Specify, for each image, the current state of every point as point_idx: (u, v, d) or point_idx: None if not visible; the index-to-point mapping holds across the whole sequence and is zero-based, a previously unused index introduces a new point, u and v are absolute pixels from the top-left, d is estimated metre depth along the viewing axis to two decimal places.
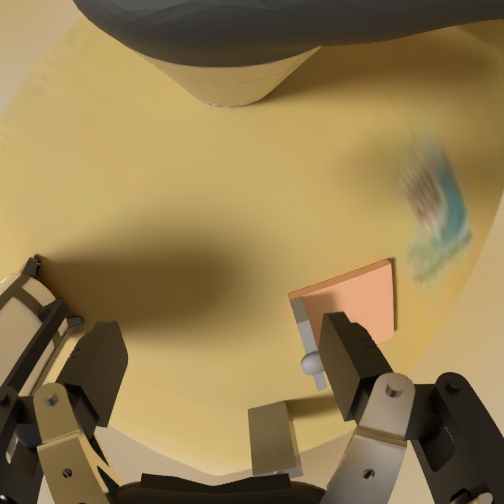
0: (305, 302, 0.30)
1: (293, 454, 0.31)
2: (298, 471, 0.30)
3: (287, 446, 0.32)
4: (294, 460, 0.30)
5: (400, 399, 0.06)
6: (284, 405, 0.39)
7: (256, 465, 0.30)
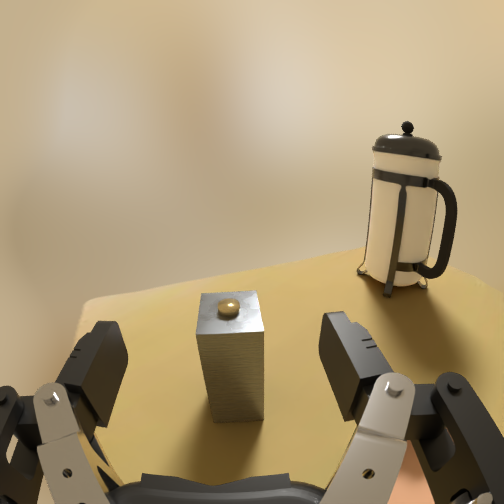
0: None
1: None
2: (232, 331, 0.20)
3: None
4: (263, 341, 0.21)
5: (400, 399, 0.06)
6: None
7: None
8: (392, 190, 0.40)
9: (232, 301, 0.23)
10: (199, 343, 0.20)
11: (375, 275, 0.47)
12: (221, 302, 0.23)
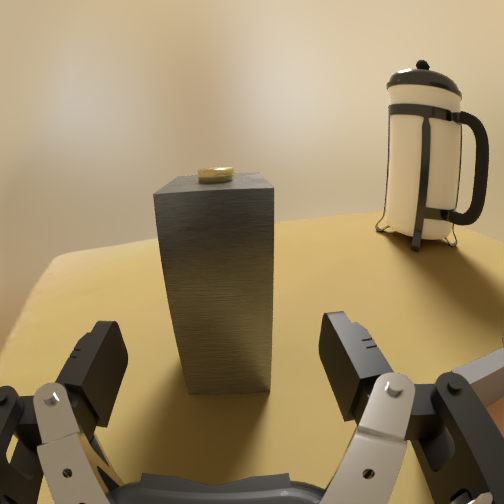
0: None
1: (272, 235, 0.12)
2: (217, 189, 0.12)
3: None
4: (273, 213, 0.12)
5: (400, 399, 0.06)
6: None
7: None
8: (414, 123, 0.31)
9: (222, 167, 0.14)
10: (158, 214, 0.12)
11: (399, 226, 0.38)
12: (204, 168, 0.14)
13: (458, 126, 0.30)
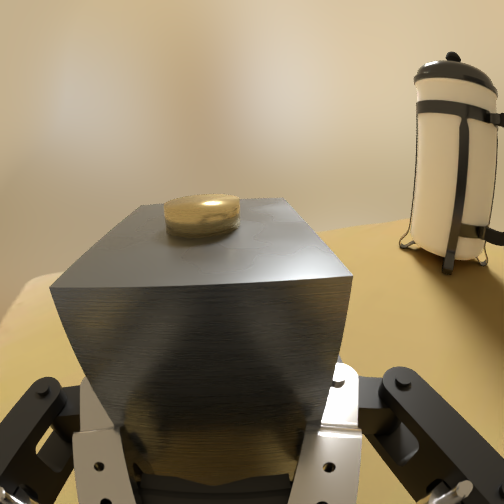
0: None
1: None
2: (200, 279, 0.04)
3: None
4: (339, 328, 0.05)
5: (340, 389, 0.06)
6: None
7: None
8: (450, 124, 0.24)
9: (216, 196, 0.07)
10: (71, 330, 0.04)
11: (429, 245, 0.31)
12: (179, 199, 0.07)
13: (495, 129, 0.22)
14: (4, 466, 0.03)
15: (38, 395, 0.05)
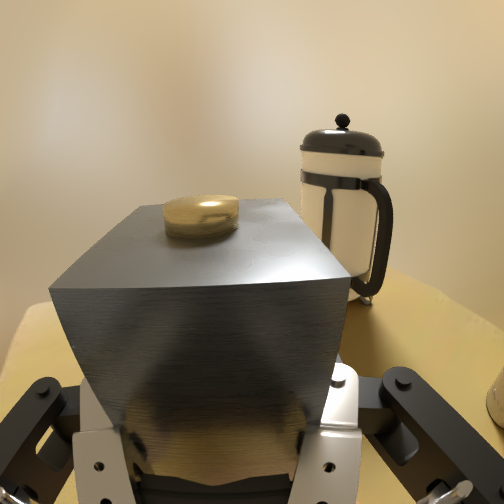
0: None
1: None
2: (198, 280, 0.04)
3: None
4: (338, 329, 0.05)
5: (340, 389, 0.06)
6: None
7: None
8: (317, 194, 0.38)
9: (215, 197, 0.07)
10: (70, 331, 0.04)
11: None
12: (178, 200, 0.07)
13: None
14: (4, 466, 0.03)
15: (38, 395, 0.05)
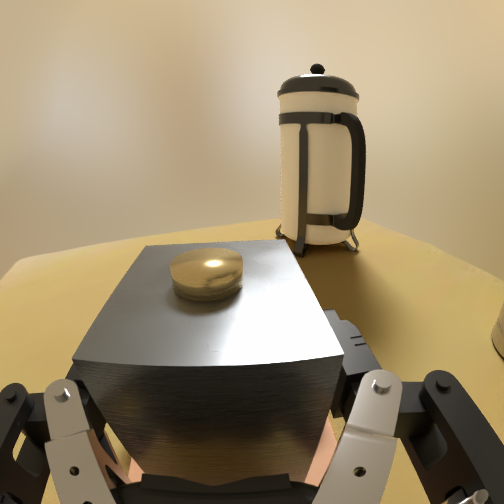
0: None
1: (324, 416, 0.05)
2: (209, 358, 0.05)
3: None
4: None
5: (386, 396, 0.06)
6: None
7: None
8: (292, 131, 0.37)
9: (220, 253, 0.07)
10: (94, 391, 0.05)
11: (286, 232, 0.44)
12: (184, 256, 0.07)
13: (347, 127, 0.36)
14: None
15: (7, 401, 0.05)
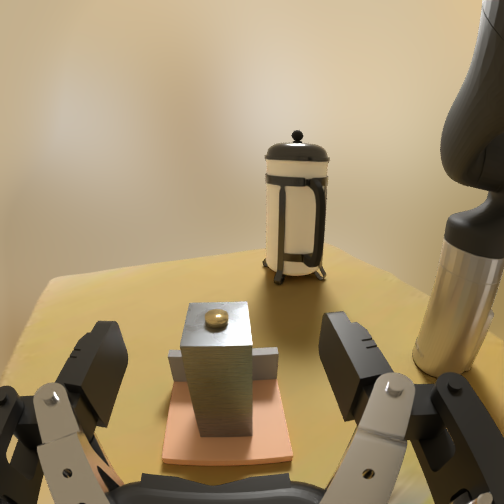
0: (269, 381, 0.30)
1: (251, 365, 0.20)
2: (218, 344, 0.19)
3: None
4: (251, 355, 0.19)
5: (400, 399, 0.06)
6: None
7: None
8: (274, 191, 0.52)
9: (221, 312, 0.22)
10: (183, 355, 0.19)
11: (269, 265, 0.59)
12: (209, 313, 0.22)
13: None
14: None
15: None
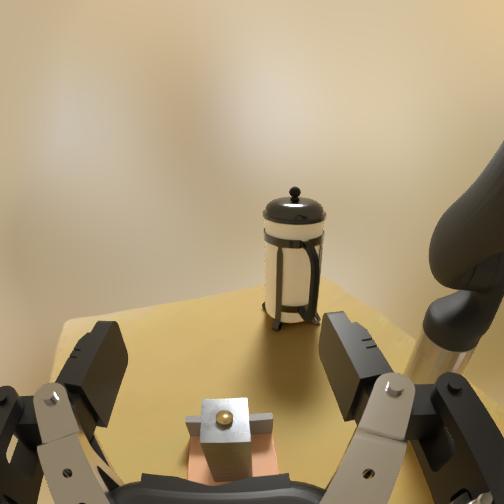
0: (266, 435, 0.35)
1: None
2: (227, 441, 0.23)
3: None
4: (250, 445, 0.24)
5: (400, 399, 0.06)
6: None
7: None
8: (272, 250, 0.56)
9: (227, 413, 0.26)
10: (202, 446, 0.23)
11: (268, 312, 0.63)
12: (218, 414, 0.26)
13: None
14: None
15: None
